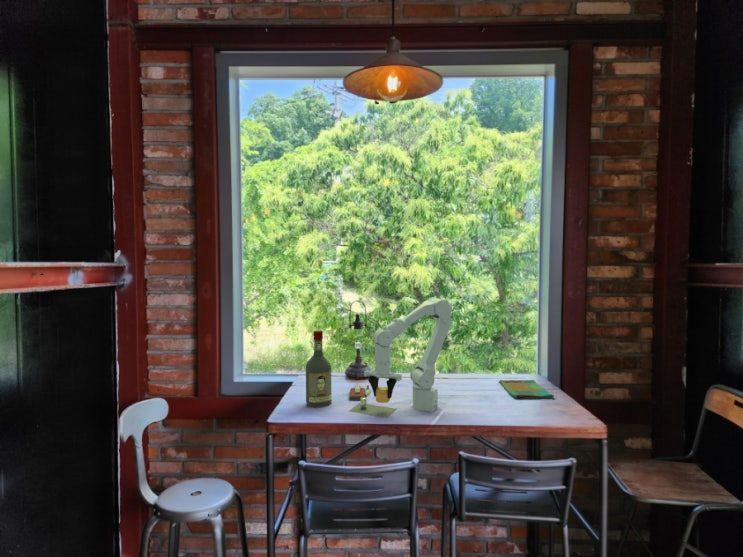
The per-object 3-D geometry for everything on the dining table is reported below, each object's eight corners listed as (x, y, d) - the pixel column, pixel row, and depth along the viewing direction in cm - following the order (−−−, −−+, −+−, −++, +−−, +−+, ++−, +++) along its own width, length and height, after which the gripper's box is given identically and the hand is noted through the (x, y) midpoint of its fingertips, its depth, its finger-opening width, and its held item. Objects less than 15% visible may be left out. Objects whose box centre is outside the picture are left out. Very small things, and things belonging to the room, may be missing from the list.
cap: (391, 399, 165) (391, 387, 165) (386, 403, 160) (386, 391, 160) (379, 397, 167) (379, 386, 167) (374, 401, 162) (374, 390, 162)
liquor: (305, 402, 176) (304, 330, 174) (326, 400, 179) (326, 328, 177) (310, 410, 168) (309, 334, 166) (332, 407, 171) (332, 332, 169)
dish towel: (513, 400, 180) (514, 394, 180) (497, 383, 204) (497, 378, 203) (555, 401, 180) (555, 395, 180) (534, 383, 204) (534, 378, 203)
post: (367, 407, 168) (367, 397, 168) (365, 409, 166) (365, 399, 165) (362, 406, 169) (362, 396, 169) (359, 408, 167) (359, 398, 166)
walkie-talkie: (370, 404, 175) (370, 388, 195) (370, 394, 175) (370, 379, 195) (348, 404, 175) (350, 388, 195) (348, 394, 175) (350, 379, 195)
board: (397, 411, 167) (397, 408, 167) (387, 420, 158) (387, 417, 158) (360, 405, 174) (359, 402, 173) (348, 413, 164) (348, 411, 164)
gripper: (360, 362, 162) (360, 397, 163) (396, 366, 156) (396, 402, 157) (368, 357, 168) (368, 391, 169) (403, 361, 162) (403, 396, 163)
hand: (382, 396), depth 164 cm, fingers closed on cap, 5 cm apart
